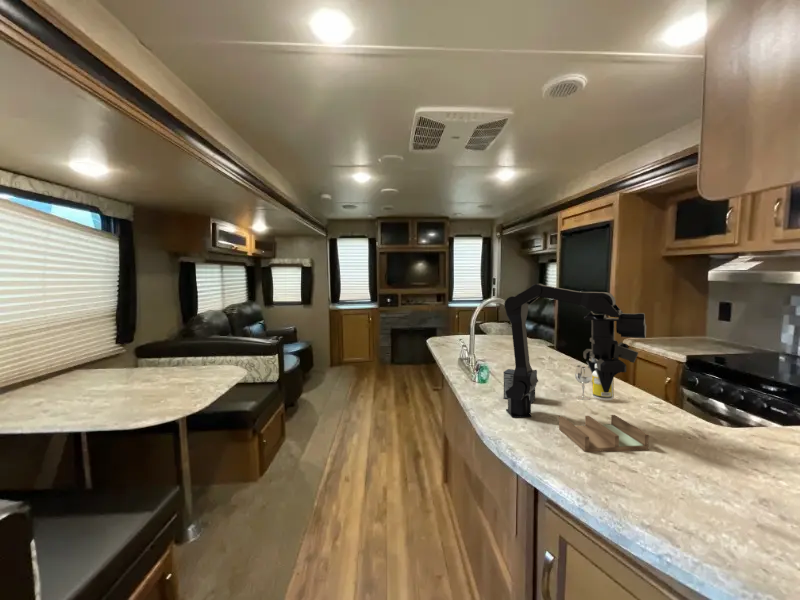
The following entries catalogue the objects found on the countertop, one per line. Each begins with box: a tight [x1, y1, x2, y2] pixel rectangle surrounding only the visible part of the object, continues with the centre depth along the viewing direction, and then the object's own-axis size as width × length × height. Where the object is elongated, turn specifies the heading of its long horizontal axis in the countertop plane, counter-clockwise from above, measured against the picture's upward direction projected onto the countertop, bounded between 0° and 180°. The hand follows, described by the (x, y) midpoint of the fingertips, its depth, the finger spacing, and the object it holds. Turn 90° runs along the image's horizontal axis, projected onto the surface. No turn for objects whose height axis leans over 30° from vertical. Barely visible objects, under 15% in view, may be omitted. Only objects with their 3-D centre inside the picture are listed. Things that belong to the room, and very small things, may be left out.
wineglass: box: [574, 364, 592, 401], centre depth 135 cm, size 6×6×12 cm
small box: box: [502, 368, 536, 404], centre depth 135 cm, size 11×6×10 cm, turn 57°
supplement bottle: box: [591, 363, 615, 401], centre depth 104 cm, size 5×5×10 cm
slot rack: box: [558, 414, 650, 453], centre depth 101 cm, size 17×14×4 cm
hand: (603, 389), depth 104 cm, fingers closed on supplement bottle, 5 cm apart
